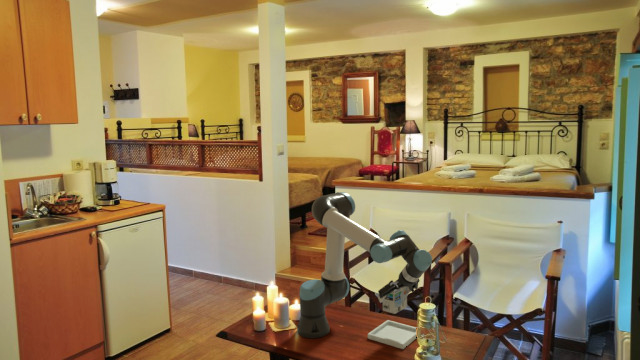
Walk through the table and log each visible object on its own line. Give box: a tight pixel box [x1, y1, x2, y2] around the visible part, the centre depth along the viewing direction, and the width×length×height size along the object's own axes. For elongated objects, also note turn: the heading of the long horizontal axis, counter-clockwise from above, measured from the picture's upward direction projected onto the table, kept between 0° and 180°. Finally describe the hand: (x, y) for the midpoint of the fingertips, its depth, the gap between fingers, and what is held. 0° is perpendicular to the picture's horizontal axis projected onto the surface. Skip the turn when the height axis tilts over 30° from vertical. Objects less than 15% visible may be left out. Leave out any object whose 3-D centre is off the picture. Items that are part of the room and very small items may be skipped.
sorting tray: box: [367, 319, 417, 350], centre depth 227 cm, size 18×18×2 cm
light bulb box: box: [382, 284, 408, 315], centre depth 225 cm, size 11×7×11 cm, turn 139°
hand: (391, 297), depth 227 cm, fingers closed on light bulb box, 12 cm apart
